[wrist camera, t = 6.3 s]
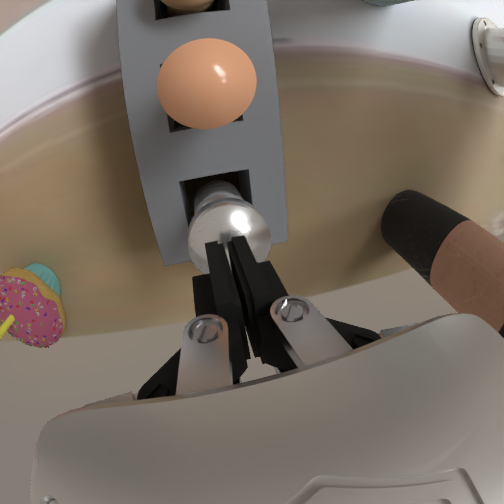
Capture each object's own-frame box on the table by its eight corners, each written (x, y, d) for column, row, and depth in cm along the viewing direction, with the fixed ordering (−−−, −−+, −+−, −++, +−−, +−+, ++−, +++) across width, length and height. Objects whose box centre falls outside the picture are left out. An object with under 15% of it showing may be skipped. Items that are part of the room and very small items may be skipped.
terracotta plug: (230, 58, 13) (251, 34, 8) (237, 117, 15) (261, 122, 10) (164, 68, 13) (151, 47, 8) (173, 128, 15) (164, 137, 10)
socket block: (243, -25, 13) (258, -52, 8) (269, 215, 24) (288, 241, 20) (130, -9, 11) (116, -34, 7) (168, 234, 23) (164, 266, 19)
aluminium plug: (243, 169, 17) (268, 199, 12) (250, 224, 19) (273, 271, 14) (182, 180, 17) (179, 215, 12) (194, 235, 19) (198, 287, 14)
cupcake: (1, 257, 19) (-53, 335, 9) (53, 235, 20) (-8, 325, 10) (38, 318, 24) (6, 401, 14) (91, 306, 25) (64, 404, 15)
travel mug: (429, 226, 29) (543, 323, 12) (386, 259, 30) (497, 380, 13) (420, 175, 25) (568, 270, 8) (371, 209, 26) (522, 341, 9)
